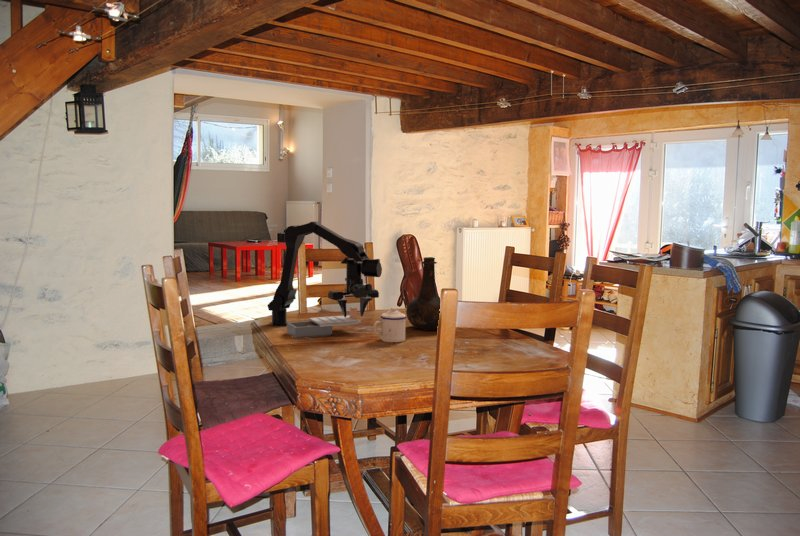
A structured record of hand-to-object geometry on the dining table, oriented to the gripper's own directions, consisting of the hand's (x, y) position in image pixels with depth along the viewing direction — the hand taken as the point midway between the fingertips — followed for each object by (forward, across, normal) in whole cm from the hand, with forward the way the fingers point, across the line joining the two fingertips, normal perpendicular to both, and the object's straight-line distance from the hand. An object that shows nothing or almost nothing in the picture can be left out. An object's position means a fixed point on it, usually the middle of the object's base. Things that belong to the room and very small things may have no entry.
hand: (353, 316), depth 242 cm
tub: (+6, -18, 0) cm, 18 cm away
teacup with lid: (+6, +6, -20) cm, 22 cm away
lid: (+2, -7, 0) cm, 8 cm away
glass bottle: (+6, +30, -6) cm, 31 cm away
